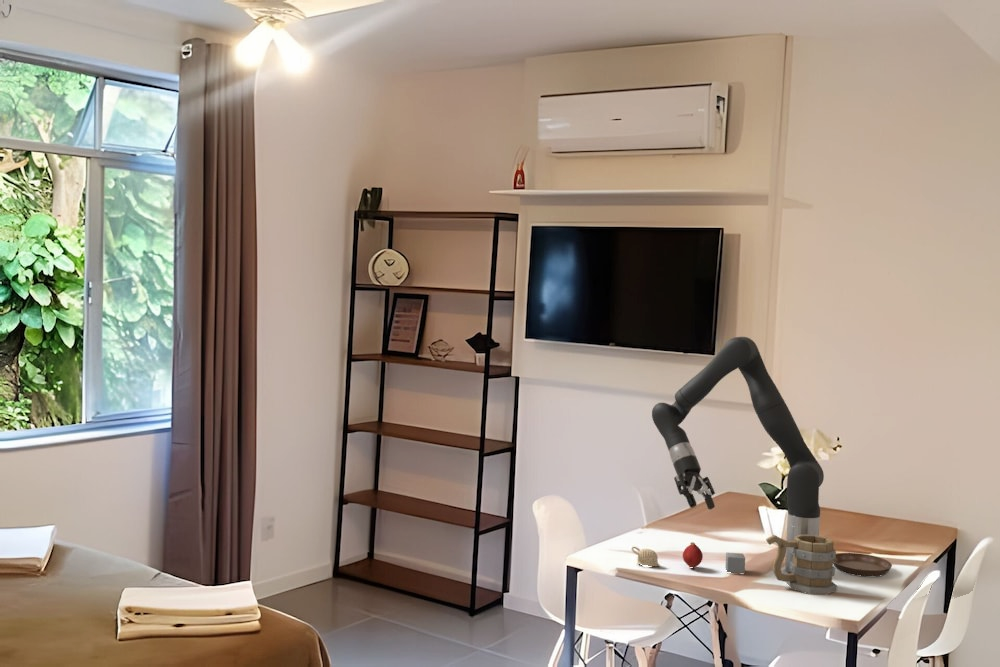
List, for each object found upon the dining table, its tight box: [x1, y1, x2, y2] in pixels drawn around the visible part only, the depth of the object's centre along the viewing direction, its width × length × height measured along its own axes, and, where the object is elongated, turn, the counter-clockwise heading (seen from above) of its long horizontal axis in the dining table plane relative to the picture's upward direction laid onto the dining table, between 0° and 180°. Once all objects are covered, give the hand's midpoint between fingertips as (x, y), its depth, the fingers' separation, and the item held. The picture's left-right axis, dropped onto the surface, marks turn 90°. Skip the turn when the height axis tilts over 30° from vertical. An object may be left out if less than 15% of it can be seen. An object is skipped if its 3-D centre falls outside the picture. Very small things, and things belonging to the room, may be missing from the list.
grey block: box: [724, 552, 746, 573], centre depth 292 cm, size 5×5×5 cm
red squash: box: [682, 541, 704, 569], centre depth 294 cm, size 6×6×8 cm
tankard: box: [765, 534, 838, 595], centre depth 278 cm, size 20×13×15 cm, turn 92°
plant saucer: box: [833, 552, 893, 577], centre depth 298 cm, size 18×18×3 cm
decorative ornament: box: [630, 546, 660, 567], centre depth 295 cm, size 4×8×5 cm, turn 66°
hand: (702, 507), depth 297 cm, fingers open, 8 cm apart
